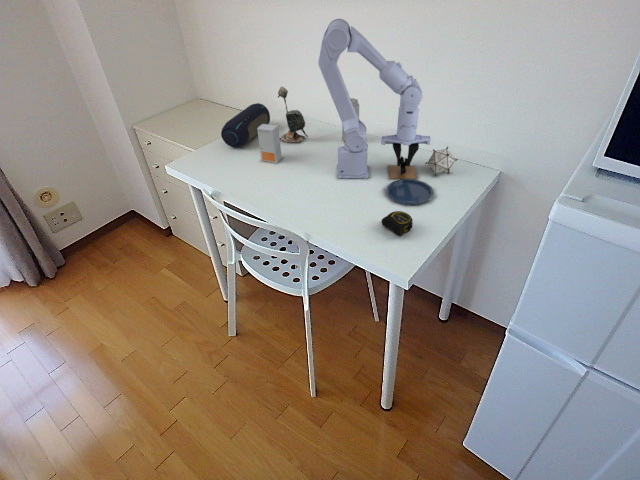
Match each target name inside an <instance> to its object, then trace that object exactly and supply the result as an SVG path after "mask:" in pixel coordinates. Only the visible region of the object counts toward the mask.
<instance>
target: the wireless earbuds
mask: <svg viewBox="0 0 640 480" xmlns="http://www.w3.org/2000/svg"><path fill="white" fill-rule="evenodd" d="M407 158H408V157H404V156H402V155H401V156H400V168H401V175H403V174H404V173H405V172H406V167H405V166H408V159H407Z"/></svg>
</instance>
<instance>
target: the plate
mask: <svg viewBox="0 0 640 480" xmlns="http://www.w3.org/2000/svg"><path fill="white" fill-rule="evenodd" d="M386 196H387V198H389V199H390V200H391V201H392V202H394V203H396V204H399V205H403V206H406V207H407V206H409V207H410V206H421V205H425V204H427V203H429V202H430V201H431V200H432V199H433V197H434V190H433V187H432V186H431V185H429V184H428V183H427V182H425V181H423V180H419V179H396V180H394V181H391V182H390V183H389V184H388V185H387V186H386Z"/></svg>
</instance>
